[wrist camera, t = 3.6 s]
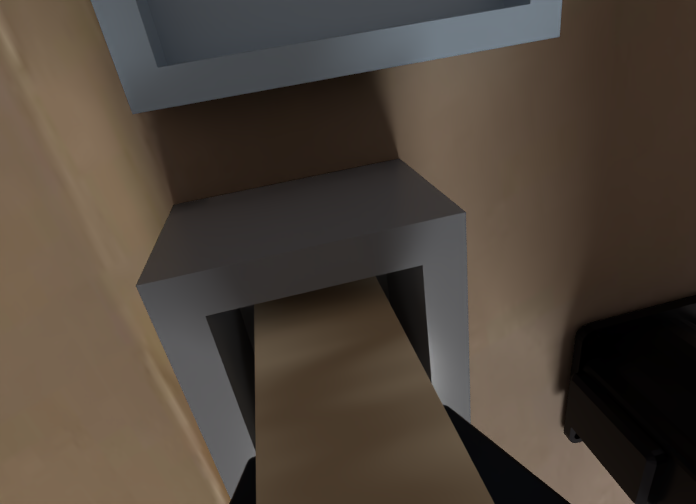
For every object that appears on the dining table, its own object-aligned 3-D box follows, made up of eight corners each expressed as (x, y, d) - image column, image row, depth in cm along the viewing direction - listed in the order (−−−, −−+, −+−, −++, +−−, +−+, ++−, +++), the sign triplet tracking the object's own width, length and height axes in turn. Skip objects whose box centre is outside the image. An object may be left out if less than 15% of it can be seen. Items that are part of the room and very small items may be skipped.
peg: (354, 236, 13) (550, 611, 4) (367, 318, 14) (536, 722, 6) (253, 259, 12) (258, 710, 4) (276, 341, 14) (316, 803, 5)
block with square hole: (399, 158, 13) (465, 211, 9) (415, 334, 16) (470, 431, 12) (173, 204, 12) (136, 286, 8) (236, 379, 15) (231, 499, 11)
